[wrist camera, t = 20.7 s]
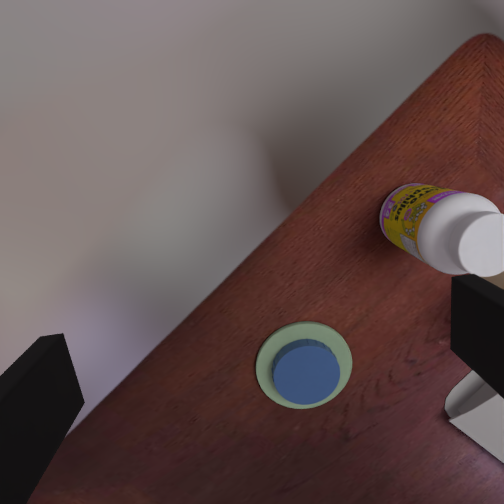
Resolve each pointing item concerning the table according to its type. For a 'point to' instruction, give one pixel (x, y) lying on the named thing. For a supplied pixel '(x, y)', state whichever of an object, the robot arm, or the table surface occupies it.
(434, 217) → the supplement bottle
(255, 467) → the table surface
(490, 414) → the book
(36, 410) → the robot arm
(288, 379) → the jar lid
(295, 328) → the coaster
